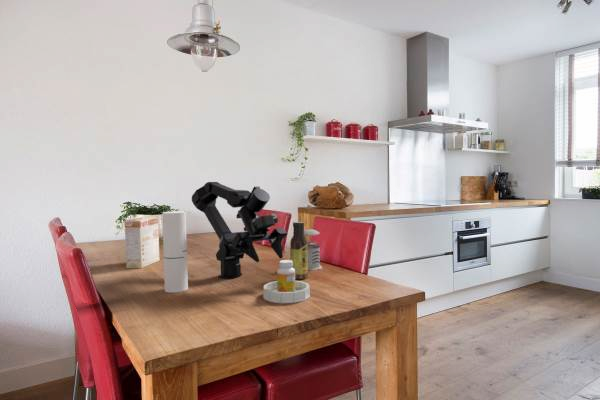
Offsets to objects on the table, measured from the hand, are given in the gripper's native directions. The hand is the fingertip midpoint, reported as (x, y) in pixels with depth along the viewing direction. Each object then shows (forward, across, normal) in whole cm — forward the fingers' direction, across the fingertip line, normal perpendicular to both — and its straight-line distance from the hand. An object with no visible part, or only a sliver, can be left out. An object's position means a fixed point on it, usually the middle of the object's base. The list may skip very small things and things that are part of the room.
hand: (270, 259), depth 122 cm
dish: (+13, 0, 0) cm, 13 cm away
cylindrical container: (-7, -22, +23) cm, 32 cm away
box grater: (-2, +29, +17) cm, 34 cm away
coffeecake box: (-37, -17, +57) cm, 70 cm away
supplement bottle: (+12, 0, 0) cm, 12 cm away
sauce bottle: (+4, +17, +10) cm, 20 cm away
